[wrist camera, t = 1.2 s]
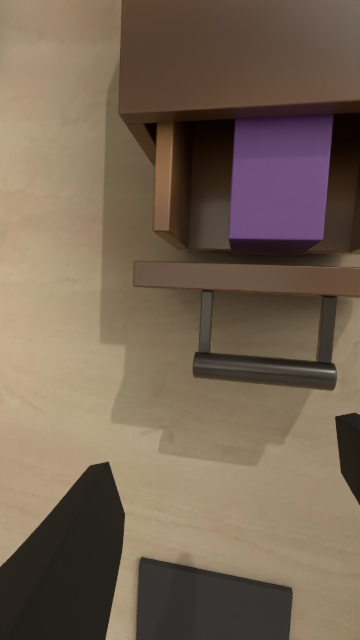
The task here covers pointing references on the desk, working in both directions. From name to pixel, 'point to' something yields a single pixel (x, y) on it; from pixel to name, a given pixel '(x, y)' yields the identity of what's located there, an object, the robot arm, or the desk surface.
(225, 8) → the cabinet
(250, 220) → the purple box
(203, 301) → the drawer
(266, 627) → the felt mat
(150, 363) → the desk surface
